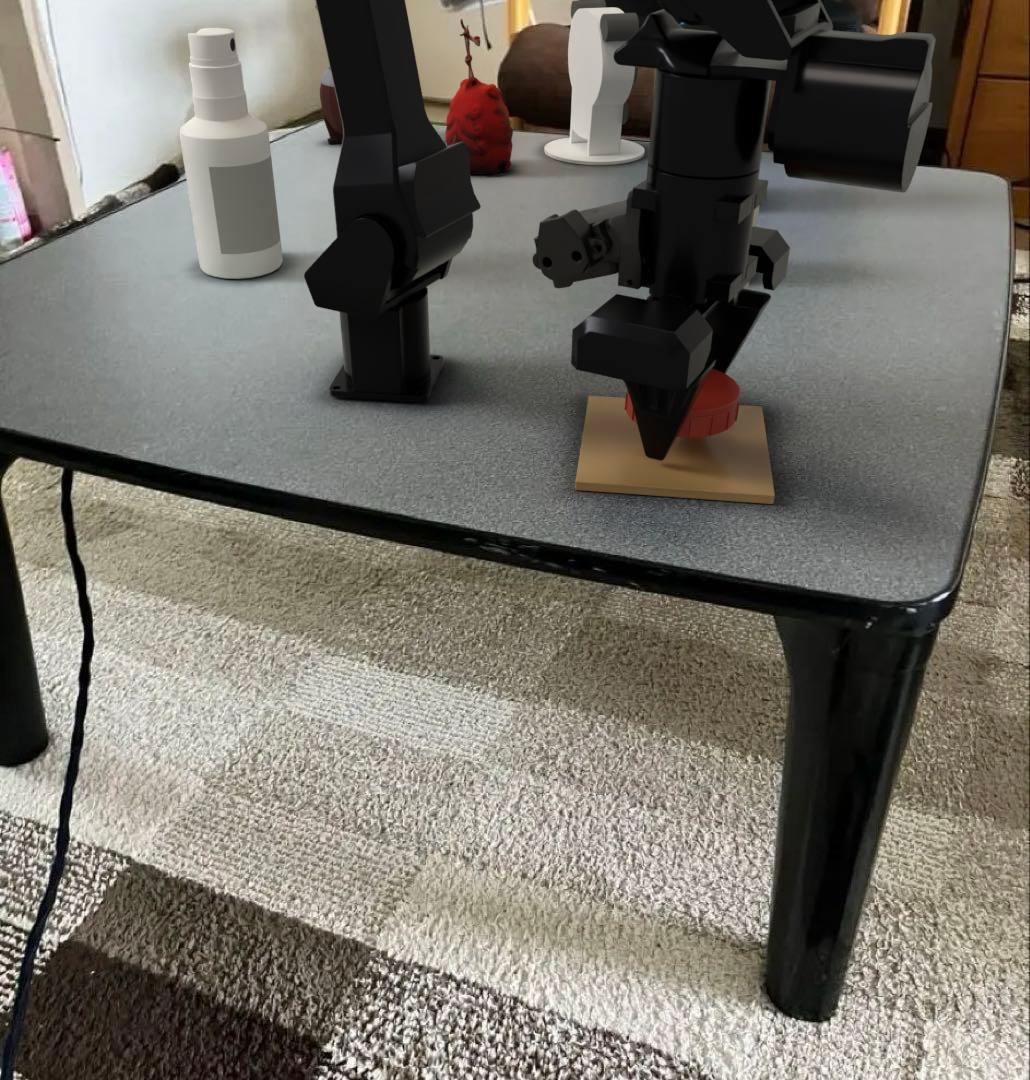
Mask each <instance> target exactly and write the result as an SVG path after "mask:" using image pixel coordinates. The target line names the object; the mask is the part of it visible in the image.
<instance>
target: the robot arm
mask: <svg viewBox="0 0 1030 1080" xmlns="http://www.w3.org/2000/svg"><path fill="white" fill-rule="evenodd" d="M656 1H657V3H658V4H659V5H660V6H661V8H662V9H660V10H656V11H654V12H651V13H649V14H648V15H646V17H645V19H644V21H643V23H642V25H641V26H639V30H638V31H637V32H636V33H635V34H634V35H633V36H632V37H631V38H630V39H629V40H628V41H627V42H626V43H625V44H623V45H622V46H621V47H619V48H618V49H617V50H615V52H614V60H615V62H616V63H617V64H618V65H624V66H634V67H638V68H643V69H644V68H645V69H653V70H654V76H653V77H654V78H653V87H652V88H653V91H652V103H651V116H650V130H649V141H648V157H647V166H646V167H647V169H646V179H644V180H643V181H641V182H640V183H638V184H636V185H635V186H634V187H633V188H632V189H631V190H630V191H629V192H628V194H627V197H626V199H625V200H621V201H618V202H612V203H609V204H604V205H600V206H597V207H591V208H589V209H583V210H580V211H579V210H577V209H571V210H570V211H568V212H566V213H565V214H562V215H560V216H559V215H558V214H557V213H555V214H551V215H549V216H548V217H546V218H545V219H543V220H541V221H540V222H539V225H538V226H539V227H538V233H537V236H535V237H534V238H533V241H534V244H535V253H534V254H533V255H532V264H533V266H534V267H535V268H536V269H538V270H540V271H541V273H542V275H543V276H544V277H545V278H547V279H548V280H550V281H552V284H553V287H554V288H555V289H564V288H569V287H572V286H573V285H574V283H576V282H582V281H587V280H592V279H593V280H594V279H597V278H602V277H607V276H608V277H609V276H612V275H616V274H618V276H617V287H622V288H623V287H624V288H629V289H635V290H640V289H641V288H645V289H648V294H649V295H648V296H647V297H646V298H640V297H634V296H630V295H625V294H619V293H616V294H614V295H613V296H612V297H611V298H610V299H608V300H607V301H606V302H604V303H603V304H601V305H600V306H599V307H598V308H597V309H596V310H595V311H593V312H592V313H591V314H589V315H588V316H587V317H586V318H585V319H584V320H582V321H581V322H579V323H578V324H577V325H576V326H575V327H574V328H572V330H571V332H572V333H571V353H570V354H571V355H570V356H571V357H570V359H571V360H570V361H571V362H570V364H571V365H572V366H573V368H574V369H575V370H576V371H580V372H585V373H589V374H593V375H598V376H599V375H600V376H602V377H608V378H611V379H615V380H616V379H617V380H621V381H623V383H624V385H625V387H626V391H627V390H628V393H629V396H630V399H631V403H632V406H633V410H634V414H635V418H636V421H637V425H638V429H639V433H640V437H641V441H642V444H643V448H644V452H645V455H646V456H647V457H648V458H651V459H655V460H659V461H662V460H664V459H665V457H666V456H667V454H668V452H669V450H670V448H671V447H672V445H673V443H674V441H675V439H676V437H677V435H678V433H679V432H680V430H681V428H682V426H683V424H684V422H685V420H686V418H687V416H688V414H689V412H690V410H691V408H692V406H693V405H694V403H695V401H696V399H697V397H698V395H699V393H700V391H701V389H702V388H703V386H704V384H705V382H706V380H707V378H708V376H709V374H710V372H711V370H712V368H713V369H715V370H718V371H720V372H723V373H725V374H726V375H727V373H728V371H729V369H730V367H731V366H732V364H733V363H734V361H735V359H736V358H737V356H738V354H739V353H740V351H741V350H742V348H743V345H745V343H746V341H747V340H748V337H749V335H751V333H752V332H753V329H754V328H755V326H756V325H757V323H758V322H759V319H760V317H761V316H762V315H763V313H764V311H765V310H766V308H767V306H768V305H769V304H770V302H771V300H772V295H771V294H770V293H768V292H765V291H759V290H753V289H749V286H750V285H749V284H750V281H751V280H752V279H753V278H754V277H755V276H756V274H762V277H761V278H762V279H761V282H762V286H763V289H764V290H768V291H772V292H773V291H775V290H776V289H777V288H778V286H780V284H781V283H782V282H783V281H784V280H785V279H786V277H787V270H788V264H789V258H790V251H791V247H790V245H789V244H788V243H787V241H786V240H785V238H784V237H783V235H782V234H781V233H780V232H779V230H778V229H773V228H766V227H759V226H757V227H754V226H752V225H753V217H754V210H755V209H756V208H757V207H758V206H759V205H760V206H761V205H762V204H763V203H764V202H765V201H766V200H767V194H768V186H769V180H768V179H762V178H761V179H760V171H761V163H762V154H763V147H764V141H765V140H764V139H765V133H766V125H767V148H768V151H769V153H771V154H772V161H773V162H772V163H773V164H778V165H783V169H784V172H785V175H786V176H787V177H788V178H793V179H800V180H808V181H814V182H823V183H830V184H836V185H844V186H851V187H858V188H866V189H874V190H881V191H889V192H896V193H903V194H904V193H906V192H907V191H908V189H909V188H910V185H911V183H912V181H913V178H914V175H915V173H916V170H917V167H918V164H919V162H920V158H921V154H922V151H923V147H924V144H925V140H926V136H927V131H928V128H929V127H928V126H929V123H930V118H931V113H932V109H933V102H929V101H930V94H931V88H932V79H933V66H932V61H933V55H934V50H935V47H936V46H935V45H936V41H937V39H936V37H935V36H934V34H933V33H925V32H914V31H913V32H912V31H904V32H897V33H893V34H879V33H866V32H857V31H856V32H855V31H846V30H845V31H842V30H833V29H834V24H833V22H832V20H831V18H830V16H829V14H828V11H827V10H826V8H825V6H824V4H823V2H822V0H656ZM315 6H317V9H316V10H317V14H318V18H319V19H318V20H319V24H320V29H321V33H322V37H323V41H324V46H325V51H326V57H327V60H328V65H329V66H330V70H331V74H332V79H333V83H334V88H335V92H336V97H337V102H338V106H339V111H340V115H341V120H342V125H343V142H342V143H341V148H340V151H339V157H338V162H337V167H336V172H335V176H334V181H333V187H332V197H333V206H334V217H335V218H334V219H335V229H336V230H335V231H336V238H335V239H334V240H333V241H332V242H331V243H330V244H329V246H328V247H326V249H325V250H324V251H323V252H322V253H321V254H320V256H318V257H317V258H316V260H315V261H313V263H312V264H311V265H310V266H309V267H308V268H307V269H306V271H305V272H304V273H303V274H304V275H303V277H304V280H305V283H306V286H307V288H308V291H309V294H310V296H311V299H312V302H313V304H314V306H315V307H317V308H320V309H325V310H330V311H333V312H338V313H339V322H340V332H341V334H340V335H341V345H342V357H343V365H342V366H341V368H340V369H339V370H338V372H337V374H336V376H335V378H334V379H333V381H332V382H331V384H330V386H329V388H328V390H329V395H330V396H331V397H333V398H334V397H335V398H346V399H347V398H349V399H363V400H367V399H368V400H380V401H398V402H410V403H412V402H413V403H423V402H427V401H428V400H429V398H430V396H431V394H432V391H433V390H434V387H435V385H436V382H437V380H438V378H439V376H440V373H441V371H442V368H443V366H444V356H443V355H439V354H431V344H430V343H431V339H430V337H431V336H430V313H429V312H430V311H429V310H430V309H429V290H428V287H429V286H430V285H432V284H434V283H435V282H437V281H440V280H443V279H445V278H446V277H447V276H448V275H449V271H450V268H451V265H452V261H453V259H454V257H456V256H457V255H458V254H460V253H461V252H462V251H463V249H464V248H465V246H466V245H467V243H468V241H469V240H470V239H471V238H472V234H473V230H474V214H473V213H475V212H476V211H479V210H480V209H481V204H480V202H479V199H478V197H477V195H476V194H475V191H474V188H473V184H472V178H471V177H472V176H471V173H470V154H469V151H468V148H467V145H466V143H465V142H459V143H456V144H453V145H449V146H447V144H446V142H445V141H444V140H443V138H442V137H441V135H440V134H439V133H438V131H437V130H436V128H435V127H434V126H433V124H432V123H431V121H430V119H429V117H428V114H427V111H426V108H425V107H426V106H425V103H424V102H425V101H424V97H423V92H422V87H421V86H422V85H421V81H420V80H421V79H420V75H419V70H418V65H417V58H416V53H415V48H414V43H413V35H412V33H411V32H412V30H411V25H410V21H409V14H408V9H407V4H406V0H315ZM675 19H676V20H677V21H679V22H681V23H682V22H683V23H686V24H689V25H699V26H702V25H709V26H710V27H711V28H712V29H714V30H715V31H716V32H713V31H701V30H690V29H684V28H682V27H681V26H680V23H678V22H677V21H676V20H675ZM772 81H773V82H775V85H774V91H773V97H772V101H771V105H770V111H769V116H768V108H769V102H770V96H771V95H770V94H771V87H772ZM767 116H768V124H767Z"/></svg>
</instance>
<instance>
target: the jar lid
mask: <svg viewBox="0 0 1030 1080" xmlns="http://www.w3.org/2000/svg"><path fill="white" fill-rule="evenodd" d="M740 397H741V388H740V386H739V384H738V383H737V381H736V380H735V379H734V378H733V377H731V376H729V375H728V374H727V373H726V374H725V373H723V372H720V371H718V370H715V369H713V368H712V370H711V372H710V374H709V376H708V378H707V380H706V382H705V384H704V386H703V388H702V389H701V391H700V393H699V395H698V397H697V399H696V401H695V403H694V405H693V406H692V408H691V410H690V412H689V414H688V416H687V418H686V420H685V422H684V424H683V426H682V428H681V430H680V432H679V433H678V435H677V437H687V438H693V437H705V436H711V435H715V434H719V433H721V432H724V431H726V430H728V429H729V428H730V427H731V426H732V425H733V424H734V423H735V421H737V417H738V410H739V405H741V404H740ZM624 398H625V410H626V412H627V414H628V416H629V417H630V418H631V420H632V421H634V422H635V423H636V424H637V421H636V418H635V414H634V410H633V406H632V403H631V399H630V396H629V393H628V390H627V389H626V392H625V397H624Z"/></svg>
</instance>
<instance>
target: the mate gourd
mask: <svg viewBox="0 0 1030 1080" xmlns="http://www.w3.org/2000/svg"><path fill="white" fill-rule="evenodd" d="M314 8H315V9H316V10H317V6H316V5H315V6H314ZM319 98H320V105H321V111H322V112H321V113H322V117H323V118H322V119H323V121H324V124H325V127H326V130H327V133H328V136H329V138H327V143H328V145H339V144H342V142H343V125H342V120H341V115H340V111H339V106H338V102H337V97H336V92H335V88H334V83H333V79H332V74H331V70H330V65H329V66H328V67H327V68H326V69H325V70H324V72H323V74H322V76H321V78H320V86H319Z"/></svg>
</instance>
